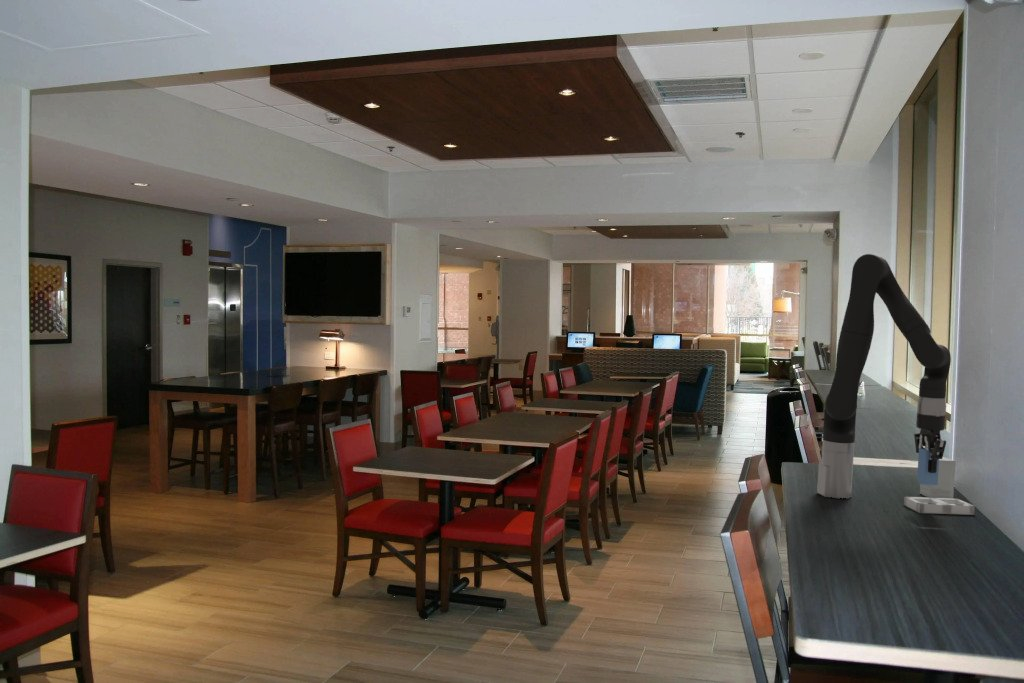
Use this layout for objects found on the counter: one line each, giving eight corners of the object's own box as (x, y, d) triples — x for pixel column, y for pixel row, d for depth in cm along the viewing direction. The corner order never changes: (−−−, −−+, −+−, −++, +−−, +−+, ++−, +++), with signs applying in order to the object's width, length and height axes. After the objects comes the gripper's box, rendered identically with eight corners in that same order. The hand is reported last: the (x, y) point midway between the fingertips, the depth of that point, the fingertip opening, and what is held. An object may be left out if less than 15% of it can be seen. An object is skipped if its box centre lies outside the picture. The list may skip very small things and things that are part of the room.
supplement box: (953, 501, 261) (956, 461, 260) (929, 500, 261) (932, 459, 261) (942, 495, 269) (944, 456, 268) (918, 494, 269) (921, 455, 268)
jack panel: (919, 514, 242) (919, 503, 242) (903, 506, 251) (904, 496, 251) (973, 516, 242) (974, 505, 242) (956, 508, 251) (957, 497, 251)
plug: (924, 484, 244) (926, 447, 244) (917, 481, 248) (919, 444, 248) (937, 485, 244) (939, 447, 244) (930, 482, 248) (932, 445, 248)
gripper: (906, 409, 252) (903, 465, 253) (931, 415, 238) (927, 475, 239) (931, 409, 252) (927, 466, 253) (957, 416, 238) (953, 476, 239)
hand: (927, 470), depth 246 cm, fingers closed on plug, 4 cm apart
